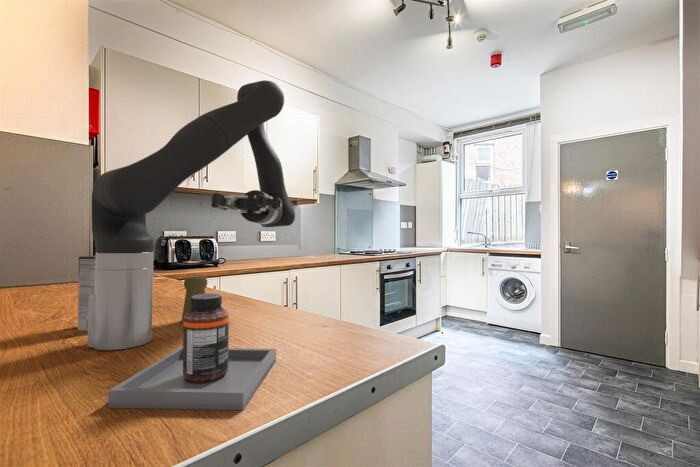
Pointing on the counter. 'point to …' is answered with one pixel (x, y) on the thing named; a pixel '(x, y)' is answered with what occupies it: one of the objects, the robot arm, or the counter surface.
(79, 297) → the coffee box
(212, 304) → the supplement bottle
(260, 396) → the counter surface
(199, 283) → the cork
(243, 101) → the robot arm
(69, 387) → the counter surface
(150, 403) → the tray
